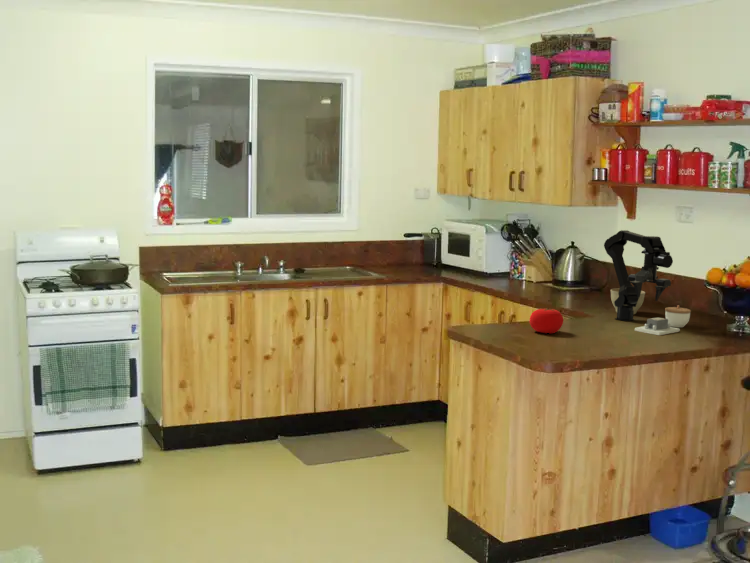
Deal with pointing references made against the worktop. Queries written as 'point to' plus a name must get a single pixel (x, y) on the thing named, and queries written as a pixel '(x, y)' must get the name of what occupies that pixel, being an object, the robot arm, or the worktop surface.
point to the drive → (657, 323)
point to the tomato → (546, 320)
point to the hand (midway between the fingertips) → (647, 299)
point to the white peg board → (657, 332)
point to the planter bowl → (615, 295)
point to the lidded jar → (677, 316)
